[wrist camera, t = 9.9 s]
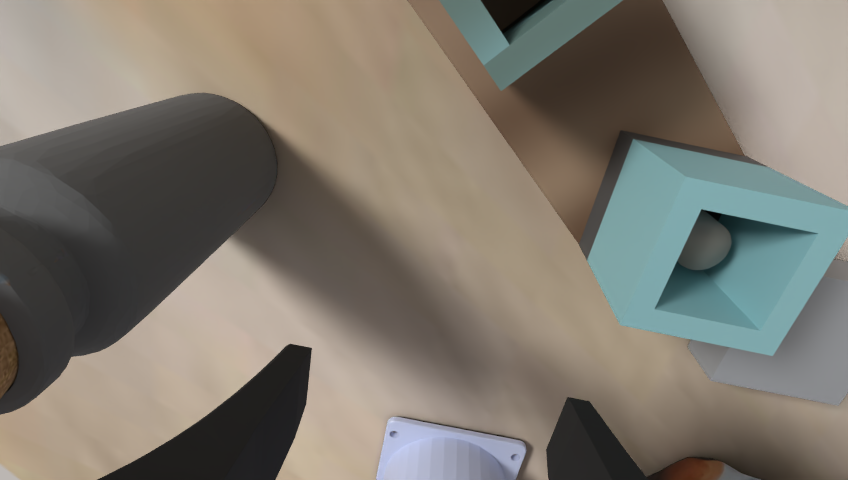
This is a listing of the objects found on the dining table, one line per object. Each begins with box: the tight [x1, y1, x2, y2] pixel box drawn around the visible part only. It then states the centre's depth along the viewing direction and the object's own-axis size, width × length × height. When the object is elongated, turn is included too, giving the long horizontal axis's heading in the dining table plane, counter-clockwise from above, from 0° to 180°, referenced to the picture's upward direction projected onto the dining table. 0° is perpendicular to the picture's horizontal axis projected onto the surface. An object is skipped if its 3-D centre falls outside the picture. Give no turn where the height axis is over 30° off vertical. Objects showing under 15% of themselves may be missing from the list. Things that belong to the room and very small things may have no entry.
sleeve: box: [579, 130, 848, 356], centre depth 17 cm, size 5×5×6 cm
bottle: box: [0, 93, 277, 414], centre depth 15 cm, size 6×6×15 cm
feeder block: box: [687, 259, 848, 406], centre depth 22 cm, size 6×6×2 cm
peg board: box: [408, 0, 744, 270], centre depth 16 cm, size 18×7×8 cm, turn 38°
